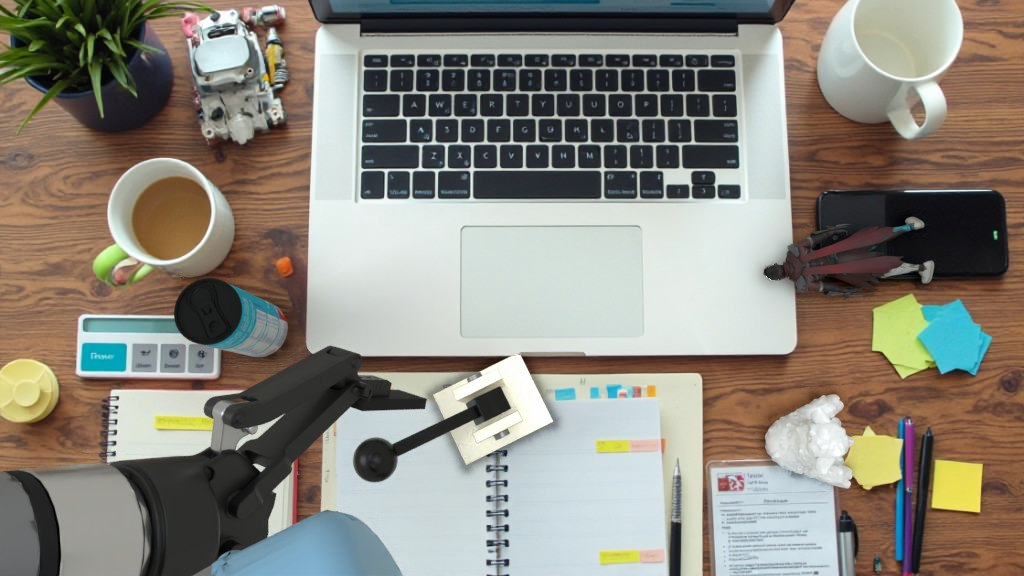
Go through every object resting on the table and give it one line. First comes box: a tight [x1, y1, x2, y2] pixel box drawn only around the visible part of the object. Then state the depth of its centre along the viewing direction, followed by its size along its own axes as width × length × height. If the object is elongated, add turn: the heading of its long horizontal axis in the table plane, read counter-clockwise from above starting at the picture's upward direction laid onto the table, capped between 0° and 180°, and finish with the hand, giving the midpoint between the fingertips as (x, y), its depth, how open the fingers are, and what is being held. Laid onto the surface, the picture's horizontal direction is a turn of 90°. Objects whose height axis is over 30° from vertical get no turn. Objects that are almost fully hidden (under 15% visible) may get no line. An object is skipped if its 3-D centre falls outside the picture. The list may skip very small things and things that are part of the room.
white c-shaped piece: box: [432, 354, 554, 466], centre depth 73 cm, size 10×8×15 cm
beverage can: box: [173, 277, 289, 358], centre depth 75 cm, size 6×6×15 cm
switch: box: [352, 386, 511, 484], centre depth 65 cm, size 14×4×4 cm, turn 115°
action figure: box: [762, 216, 935, 301], centre depth 80 cm, size 8×6×18 cm
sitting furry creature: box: [764, 393, 855, 490], centre depth 74 cm, size 10×9×12 cm
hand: (393, 491), depth 56 cm, fingers open, 13 cm apart
